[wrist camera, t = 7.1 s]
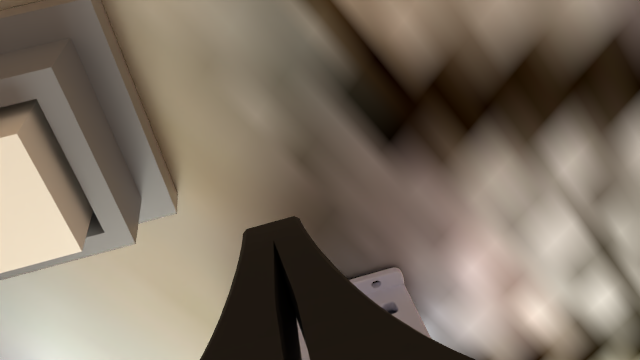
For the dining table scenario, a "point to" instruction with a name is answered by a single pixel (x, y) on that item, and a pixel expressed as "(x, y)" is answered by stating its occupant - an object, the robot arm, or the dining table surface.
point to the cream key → (37, 192)
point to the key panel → (87, 116)
